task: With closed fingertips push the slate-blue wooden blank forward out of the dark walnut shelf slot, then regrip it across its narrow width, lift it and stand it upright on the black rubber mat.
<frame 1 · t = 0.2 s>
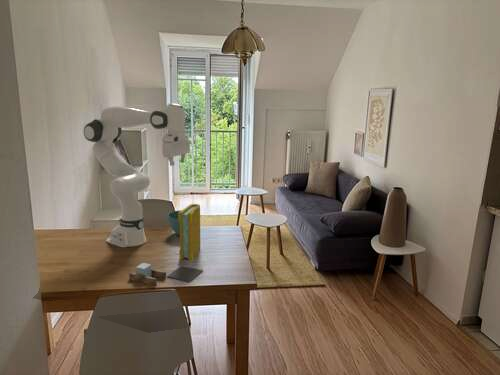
hand: (177, 164, 190), 48 cm above the table, fingers open, 8 cm apart
book: (191, 253, 198), on the table
mat: (185, 274, 175), on the table
plant pot: (183, 233, 227), on the table
blank: (144, 277, 170), on the table
shelf slot: (147, 278, 170), on the table
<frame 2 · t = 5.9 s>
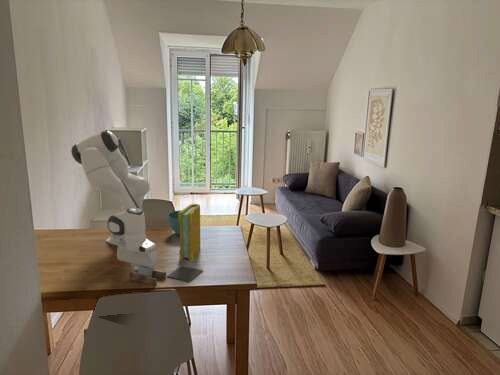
hand: (137, 272, 171), 2 cm above the table, fingers closed
blank: (144, 276, 170), point 1 cm above the table, tilted 15°, touching gripper
everything else where it was.
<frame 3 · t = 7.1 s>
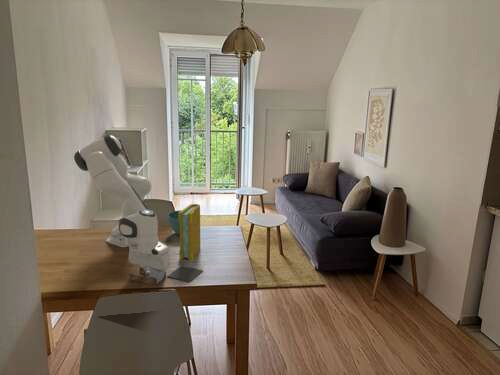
hand: (149, 275, 168), 2 cm above the table, fingers closed
blank: (155, 279, 168), point 1 cm above the table, tilted 18°, touching gripper
everything else where it was.
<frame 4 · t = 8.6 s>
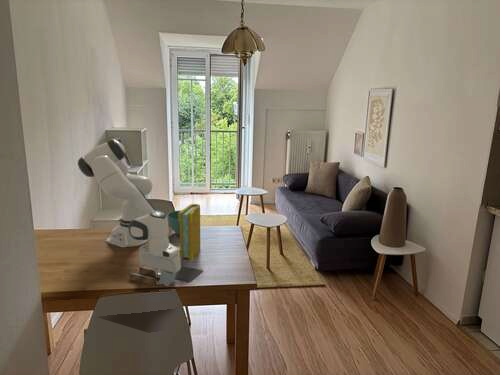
hand: (159, 277, 166), 2 cm above the table, fingers closed
blank: (166, 281, 166), point 1 cm above the table, tilted 18°, touching gripper
everything else where it was.
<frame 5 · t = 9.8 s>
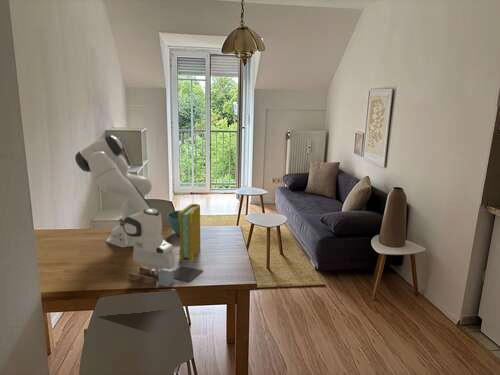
hand: (154, 273, 168), 3 cm above the table, fingers closed
blank: (166, 283, 166), on the table
everything else where it was.
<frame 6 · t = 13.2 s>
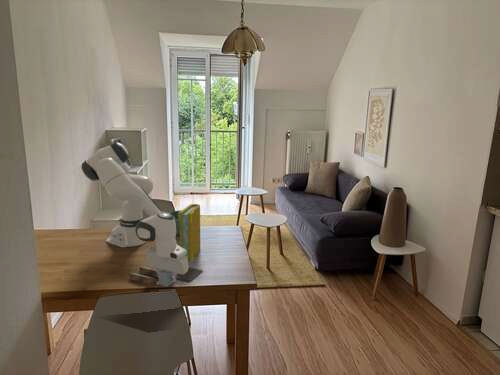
hand: (167, 278, 165), 2 cm above the table, fingers open, 5 cm apart
blank: (166, 283, 166), on the table, touching gripper
everything else where it was.
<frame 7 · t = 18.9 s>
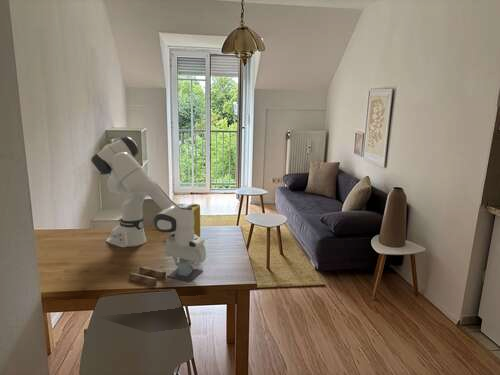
hand: (185, 267, 174), 4 cm above the table, fingers open, 7 cm apart
blank: (185, 273, 175), resting on mat
everything else where it was.
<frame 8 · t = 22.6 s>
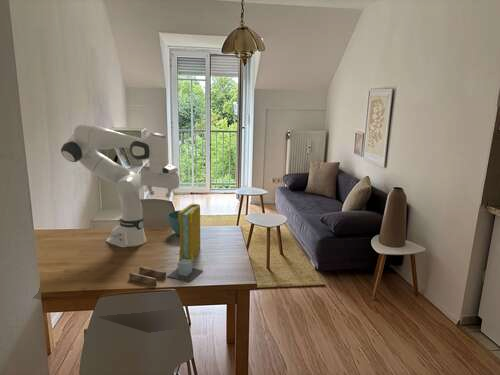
hand: (159, 195, 180), 34 cm above the table, fingers open, 8 cm apart
nothing on the table moved.
at the end: blank inside the target area on the mat (0.1 cm from its centre), point 0.5 cm above the mat's base; blank tilted 0°; the gripper is holding nothing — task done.
